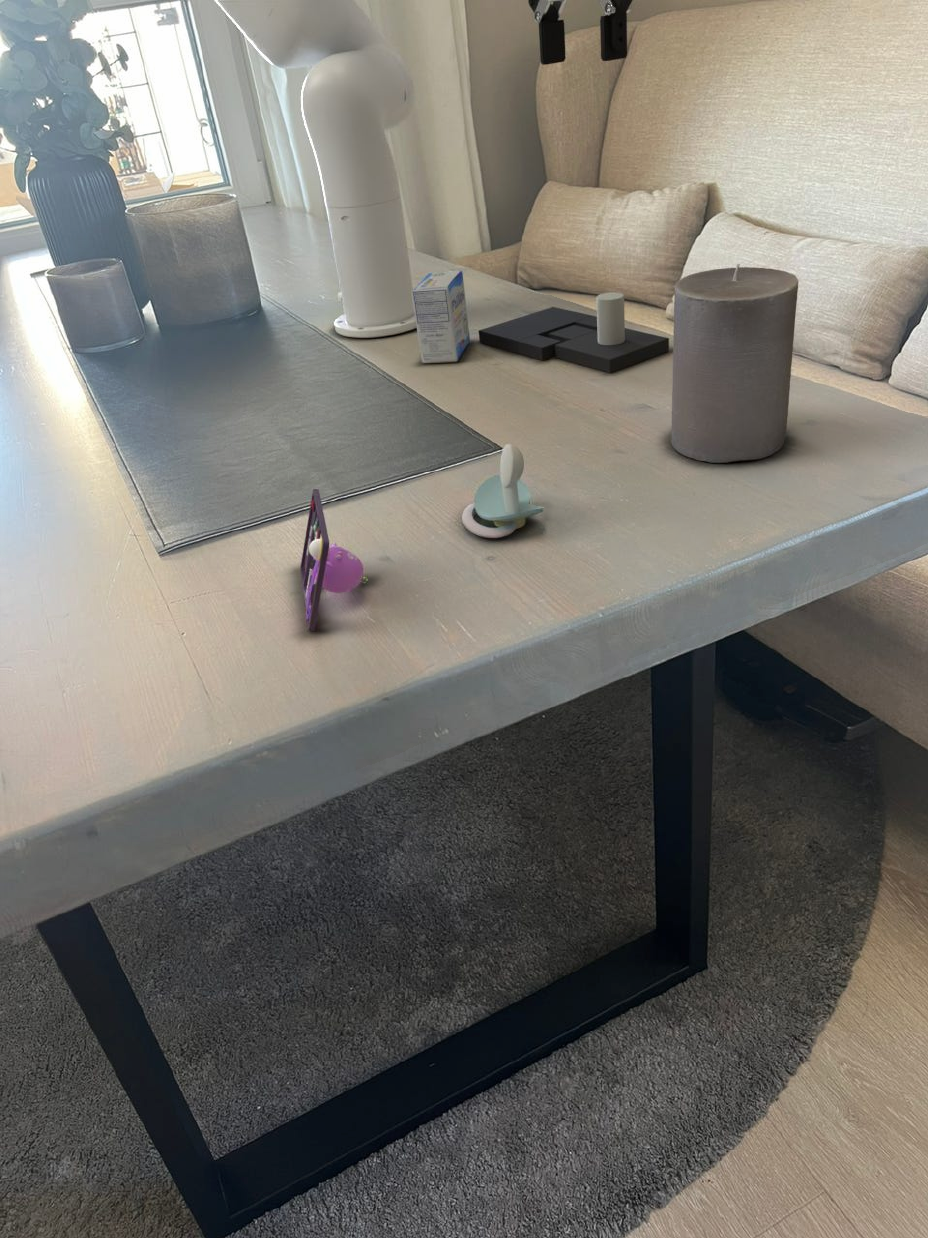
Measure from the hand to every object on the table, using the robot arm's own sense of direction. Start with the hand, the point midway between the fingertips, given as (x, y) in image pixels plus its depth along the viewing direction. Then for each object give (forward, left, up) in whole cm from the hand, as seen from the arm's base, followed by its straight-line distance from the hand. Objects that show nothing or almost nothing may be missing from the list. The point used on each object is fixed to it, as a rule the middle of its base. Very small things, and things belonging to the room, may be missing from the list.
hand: (582, 61), depth 102 cm
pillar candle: (+37, -18, -28) cm, 50 cm away
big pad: (0, -7, -28) cm, 29 cm away
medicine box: (-6, -18, -28) cm, 34 cm away
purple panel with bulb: (+34, -56, -28) cm, 71 cm away
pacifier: (+34, -41, -28) cm, 60 cm away
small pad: (+9, -7, -28) cm, 30 cm away
